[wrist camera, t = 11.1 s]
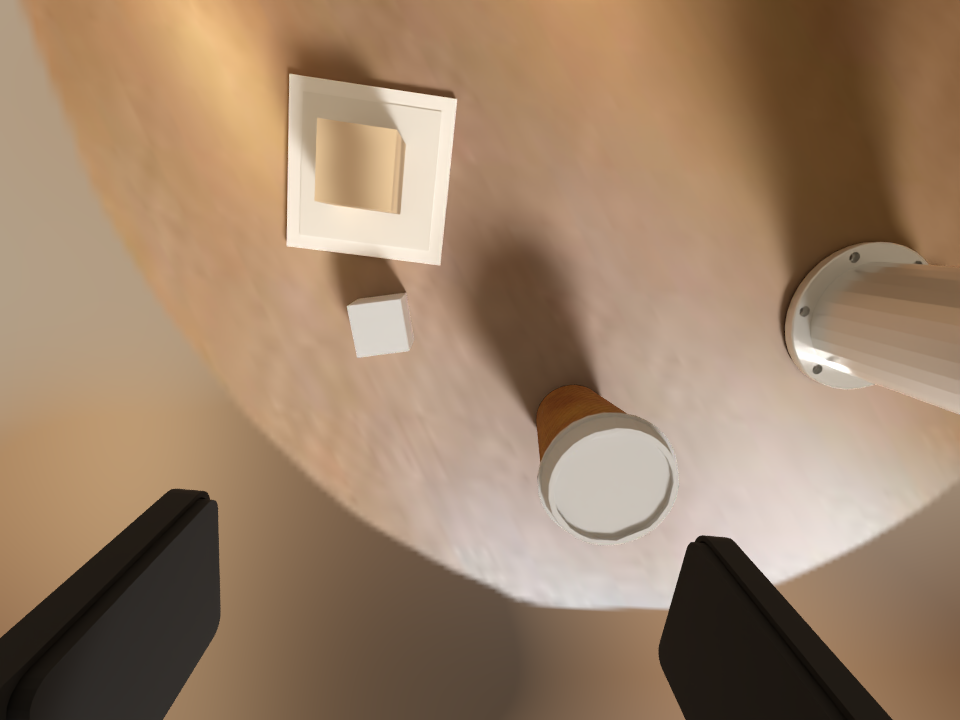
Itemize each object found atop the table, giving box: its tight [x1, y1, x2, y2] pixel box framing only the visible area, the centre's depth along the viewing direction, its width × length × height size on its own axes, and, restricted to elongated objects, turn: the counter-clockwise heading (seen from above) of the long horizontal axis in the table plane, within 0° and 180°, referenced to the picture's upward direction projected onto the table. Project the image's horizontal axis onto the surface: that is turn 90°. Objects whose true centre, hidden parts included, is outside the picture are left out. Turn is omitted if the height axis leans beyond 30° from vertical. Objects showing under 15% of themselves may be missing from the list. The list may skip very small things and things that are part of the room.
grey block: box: [347, 293, 414, 358], centre depth 36 cm, size 4×4×4 cm
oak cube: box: [314, 118, 406, 214], centre depth 32 cm, size 5×5×5 cm
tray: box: [287, 74, 457, 265], centre depth 35 cm, size 12×12×1 cm
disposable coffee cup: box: [536, 385, 679, 546], centre depth 35 cm, size 10×10×12 cm
